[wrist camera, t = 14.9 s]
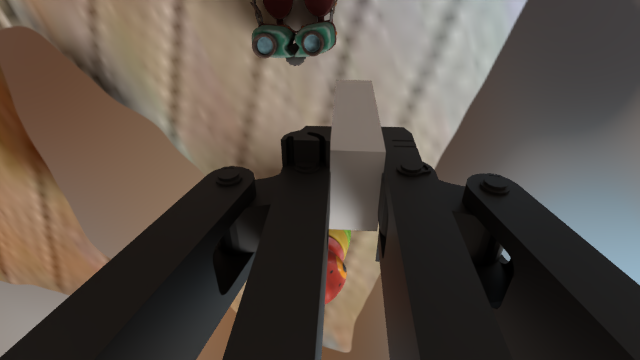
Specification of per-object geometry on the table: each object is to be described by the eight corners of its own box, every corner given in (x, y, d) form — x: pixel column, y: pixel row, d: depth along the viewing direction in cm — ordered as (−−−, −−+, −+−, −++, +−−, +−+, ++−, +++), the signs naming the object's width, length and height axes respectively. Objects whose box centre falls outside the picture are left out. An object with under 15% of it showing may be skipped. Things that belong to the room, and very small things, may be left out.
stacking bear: (363, 222, 55) (369, 322, 40) (303, 236, 57) (287, 335, 42) (343, 165, 49) (341, 254, 34) (277, 182, 52) (249, 273, 37)
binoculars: (334, -60, 28) (337, 71, 32) (337, -43, 37) (339, 56, 41) (223, -52, 28) (241, 74, 33) (254, -37, 38) (265, 60, 42)
